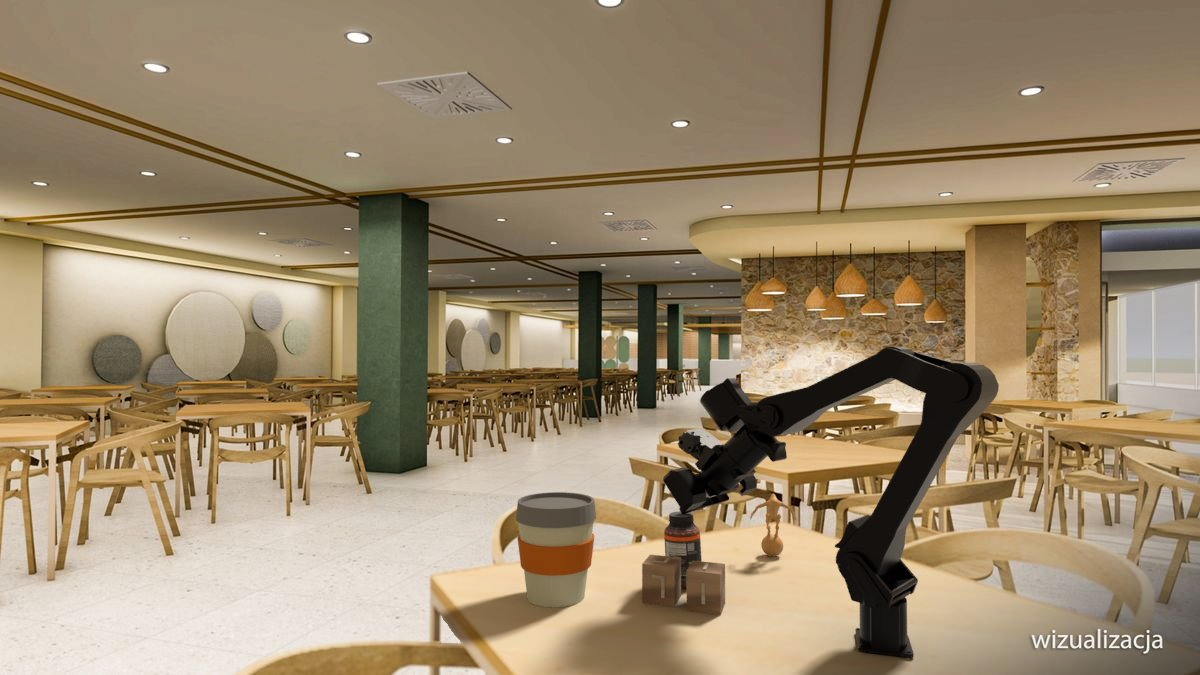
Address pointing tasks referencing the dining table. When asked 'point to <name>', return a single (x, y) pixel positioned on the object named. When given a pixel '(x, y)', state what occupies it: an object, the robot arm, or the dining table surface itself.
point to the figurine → (772, 542)
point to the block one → (705, 587)
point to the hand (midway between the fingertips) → (682, 511)
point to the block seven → (661, 580)
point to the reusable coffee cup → (555, 546)
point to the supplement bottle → (682, 541)
